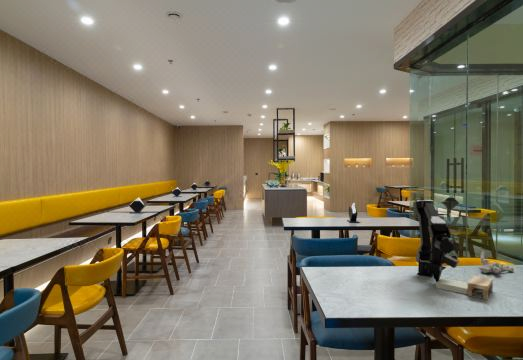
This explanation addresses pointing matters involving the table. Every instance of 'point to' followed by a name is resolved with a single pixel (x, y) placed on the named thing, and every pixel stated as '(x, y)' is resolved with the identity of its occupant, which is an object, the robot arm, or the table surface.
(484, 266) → the anatomical model
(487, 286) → the wooden block
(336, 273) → the table surface
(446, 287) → the cream rectangular block
